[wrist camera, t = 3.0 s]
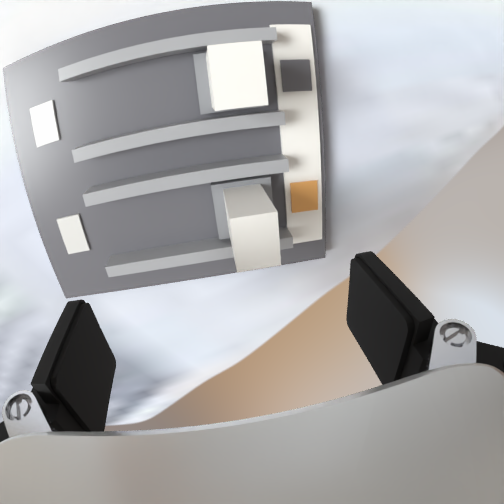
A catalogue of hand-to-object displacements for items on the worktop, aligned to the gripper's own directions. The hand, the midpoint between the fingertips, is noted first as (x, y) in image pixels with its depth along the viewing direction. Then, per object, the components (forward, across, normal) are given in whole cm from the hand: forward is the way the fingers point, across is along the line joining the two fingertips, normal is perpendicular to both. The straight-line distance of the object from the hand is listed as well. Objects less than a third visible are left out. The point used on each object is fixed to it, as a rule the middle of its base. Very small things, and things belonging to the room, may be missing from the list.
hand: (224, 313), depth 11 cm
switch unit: (+10, +2, -4) cm, 11 cm away
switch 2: (+9, -2, -1) cm, 9 cm away
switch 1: (+8, -2, -8) cm, 12 cm away
